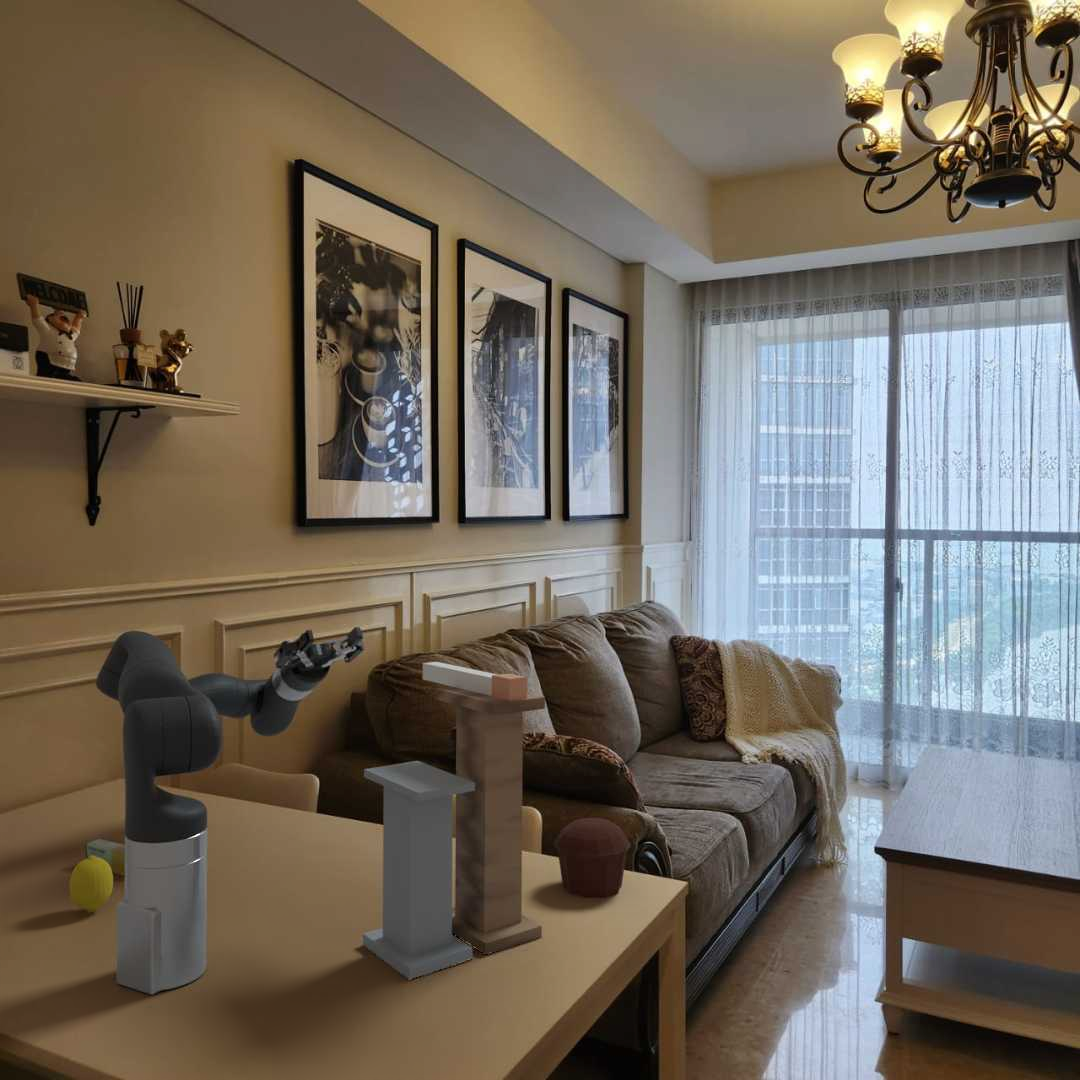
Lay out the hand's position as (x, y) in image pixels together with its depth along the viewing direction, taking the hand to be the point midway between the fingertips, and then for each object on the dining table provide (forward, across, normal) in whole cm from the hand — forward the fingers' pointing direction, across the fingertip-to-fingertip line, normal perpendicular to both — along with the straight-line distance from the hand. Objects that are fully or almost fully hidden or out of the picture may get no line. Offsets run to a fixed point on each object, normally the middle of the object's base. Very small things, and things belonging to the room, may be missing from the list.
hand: (335, 633), depth 152 cm
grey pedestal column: (+15, -7, +51) cm, 54 cm away
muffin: (+12, +26, +50) cm, 57 cm away
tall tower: (+15, +4, +51) cm, 53 cm away
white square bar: (+27, +4, +21) cm, 34 cm away
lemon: (-18, -37, +32) cm, 52 cm away
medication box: (-32, -30, +25) cm, 50 cm away
